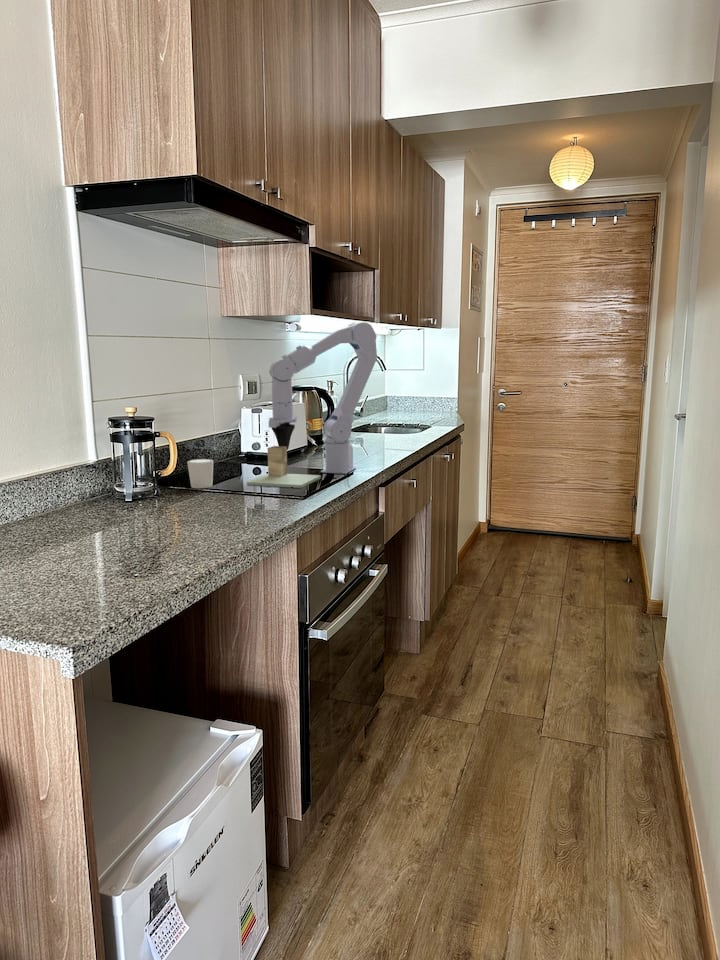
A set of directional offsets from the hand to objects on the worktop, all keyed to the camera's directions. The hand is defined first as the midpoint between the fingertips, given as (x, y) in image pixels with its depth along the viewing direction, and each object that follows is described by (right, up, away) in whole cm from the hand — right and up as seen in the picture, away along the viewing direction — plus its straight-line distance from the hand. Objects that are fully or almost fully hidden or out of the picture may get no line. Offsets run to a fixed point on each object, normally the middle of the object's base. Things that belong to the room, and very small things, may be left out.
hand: (283, 449), depth 195 cm
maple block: (-1, -7, -3) cm, 8 cm away
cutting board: (+1, -9, -8) cm, 12 cm away
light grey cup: (-21, -11, -13) cm, 27 cm away
